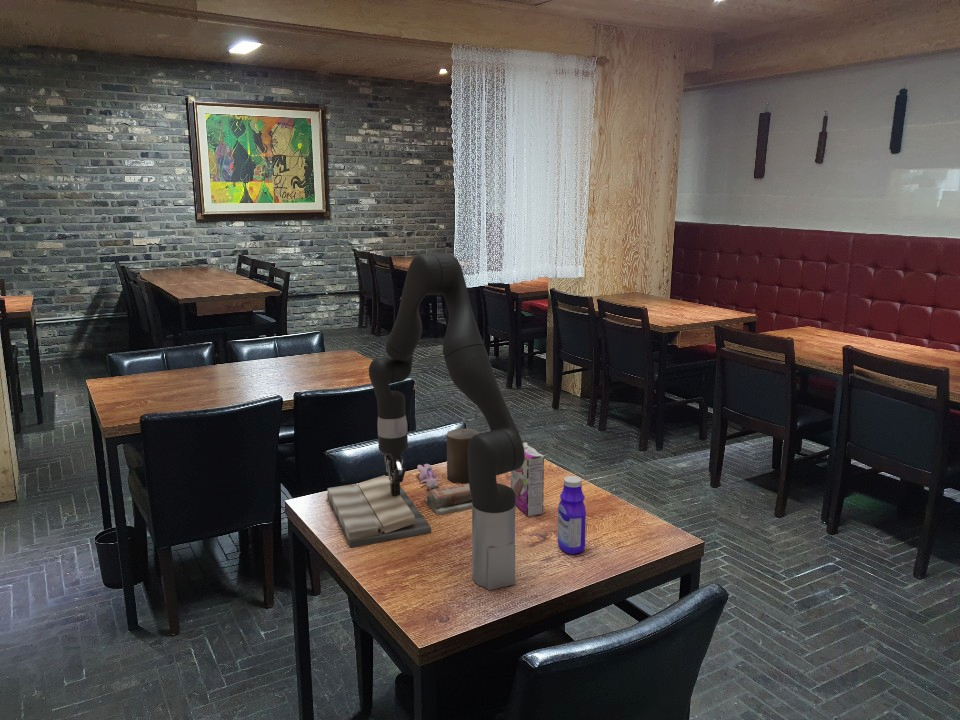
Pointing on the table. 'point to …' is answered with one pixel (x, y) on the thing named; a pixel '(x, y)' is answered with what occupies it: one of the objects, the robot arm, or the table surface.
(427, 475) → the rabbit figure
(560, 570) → the table surface
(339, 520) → the floor section
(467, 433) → the pillar candle
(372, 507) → the loose plank
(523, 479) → the candy bar box
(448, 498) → the packaged product
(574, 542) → the bottle
